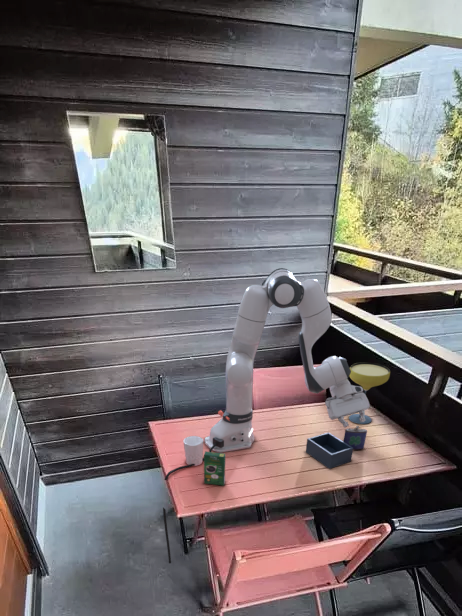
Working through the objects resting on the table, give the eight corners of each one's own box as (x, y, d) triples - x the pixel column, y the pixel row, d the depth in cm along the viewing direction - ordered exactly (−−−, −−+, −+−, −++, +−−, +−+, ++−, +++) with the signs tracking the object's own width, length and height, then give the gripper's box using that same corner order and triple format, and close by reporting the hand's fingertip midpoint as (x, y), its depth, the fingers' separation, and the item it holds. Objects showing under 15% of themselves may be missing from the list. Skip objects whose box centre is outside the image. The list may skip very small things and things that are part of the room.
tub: (329, 468, 178) (331, 455, 175) (305, 452, 189) (307, 438, 185) (350, 461, 183) (353, 447, 179) (326, 445, 194) (328, 432, 190)
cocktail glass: (372, 431, 205) (383, 379, 190) (335, 421, 213) (343, 370, 198) (384, 416, 217) (395, 367, 202) (349, 408, 225) (357, 359, 210)
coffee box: (226, 482, 170) (225, 452, 163) (224, 486, 168) (224, 456, 160) (205, 480, 171) (204, 450, 164) (204, 484, 169) (202, 454, 161)
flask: (362, 447, 193) (367, 425, 186) (364, 450, 191) (368, 428, 184) (341, 446, 193) (345, 424, 187) (342, 450, 191) (346, 427, 184)
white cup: (189, 468, 178) (188, 447, 172) (181, 459, 184) (180, 438, 178) (207, 464, 181) (206, 442, 175) (199, 455, 187) (198, 434, 181)
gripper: (327, 395, 180) (340, 427, 179) (365, 386, 189) (377, 415, 188) (319, 402, 186) (331, 432, 185) (356, 392, 194) (367, 421, 193)
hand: (355, 424), depth 186 cm, fingers open, 8 cm apart
